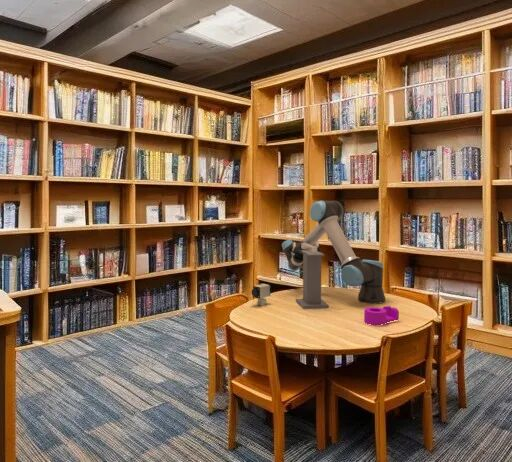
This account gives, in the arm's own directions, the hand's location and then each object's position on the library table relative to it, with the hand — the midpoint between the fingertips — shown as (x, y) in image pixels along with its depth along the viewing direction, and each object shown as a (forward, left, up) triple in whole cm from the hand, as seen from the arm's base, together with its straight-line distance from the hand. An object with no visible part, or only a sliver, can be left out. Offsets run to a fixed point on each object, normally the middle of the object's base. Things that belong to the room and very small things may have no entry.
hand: (306, 244), depth 238 cm
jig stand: (-11, +6, -32) cm, 34 cm away
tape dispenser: (-53, +3, -33) cm, 62 cm away
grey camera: (+6, +28, -32) cm, 43 cm away
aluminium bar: (-5, +3, -3) cm, 6 cm away
